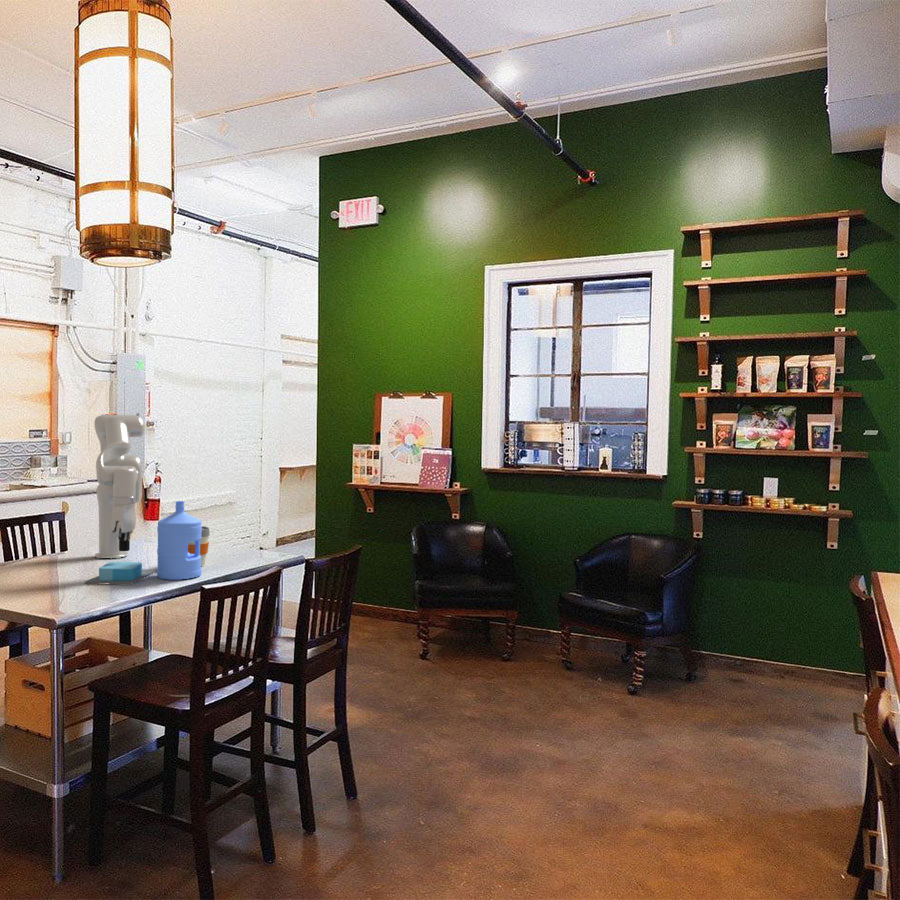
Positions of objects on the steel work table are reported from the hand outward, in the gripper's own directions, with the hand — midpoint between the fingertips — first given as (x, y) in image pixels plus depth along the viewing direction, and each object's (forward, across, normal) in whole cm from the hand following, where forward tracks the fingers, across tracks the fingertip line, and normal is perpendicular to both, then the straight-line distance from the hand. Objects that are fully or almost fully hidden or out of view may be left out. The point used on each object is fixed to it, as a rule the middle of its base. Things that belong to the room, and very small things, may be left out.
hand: (124, 550), depth 282 cm
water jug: (+10, -5, +19) cm, 22 cm away
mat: (+10, +1, 0) cm, 10 cm away
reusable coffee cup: (+10, -25, +16) cm, 31 cm away
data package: (+7, -2, 0) cm, 7 cm away
